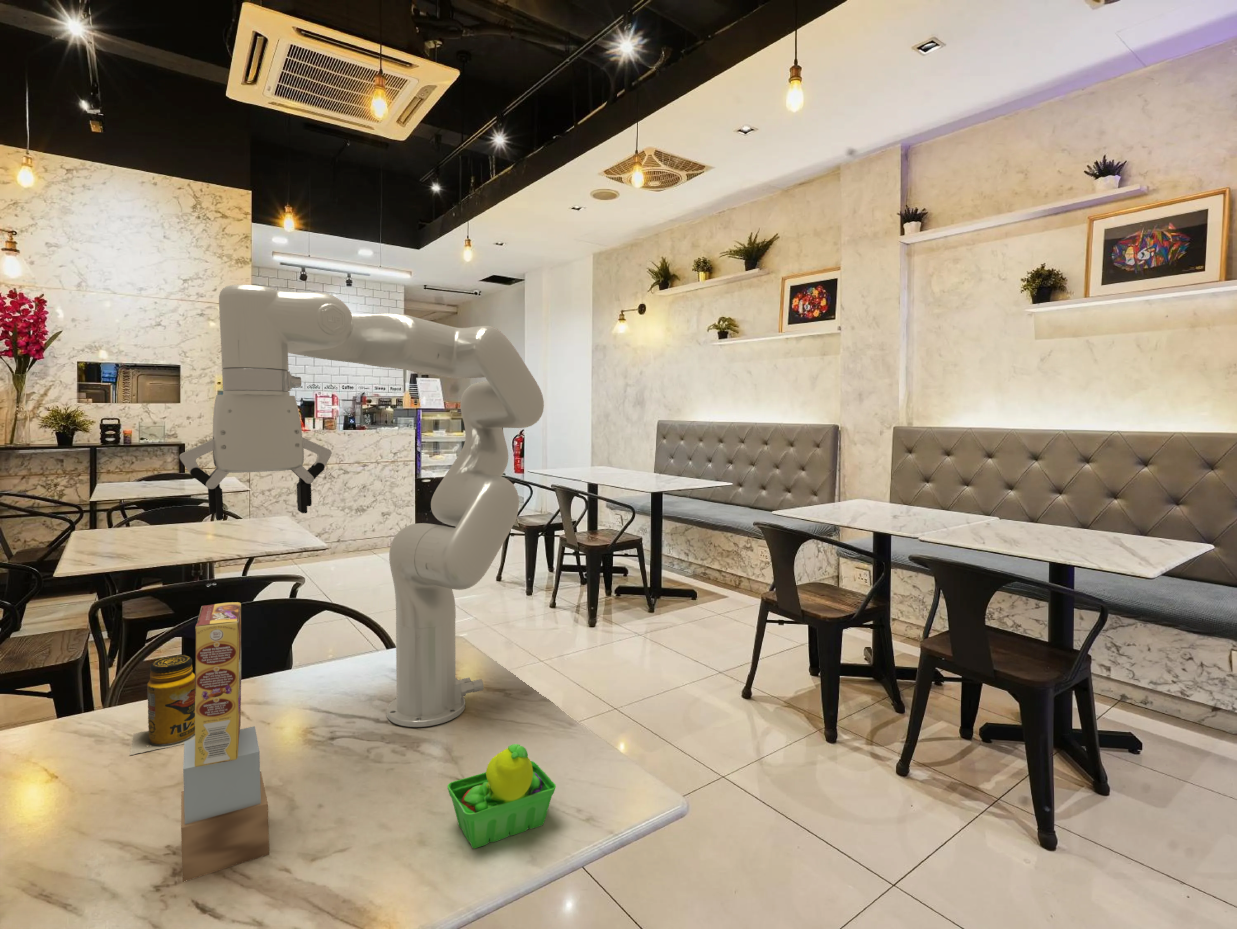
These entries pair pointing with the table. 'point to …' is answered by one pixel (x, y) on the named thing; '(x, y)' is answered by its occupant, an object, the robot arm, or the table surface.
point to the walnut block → (224, 838)
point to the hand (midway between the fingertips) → (262, 515)
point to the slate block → (222, 780)
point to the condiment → (168, 705)
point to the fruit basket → (502, 798)
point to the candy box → (217, 683)
